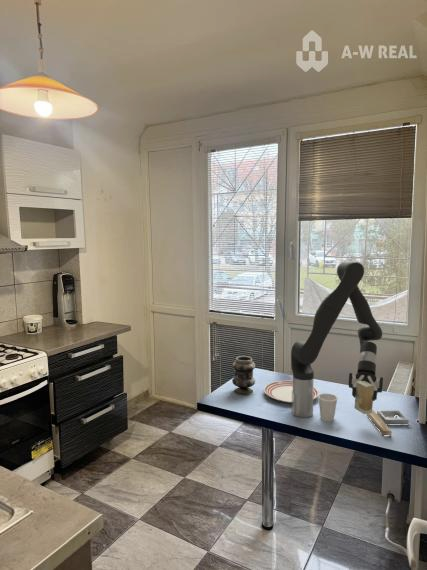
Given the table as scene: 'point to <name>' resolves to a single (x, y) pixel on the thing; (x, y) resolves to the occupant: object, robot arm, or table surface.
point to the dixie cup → (327, 406)
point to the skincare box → (364, 397)
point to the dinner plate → (283, 391)
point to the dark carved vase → (243, 375)
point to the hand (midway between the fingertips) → (364, 398)
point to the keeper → (392, 417)
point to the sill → (379, 423)
